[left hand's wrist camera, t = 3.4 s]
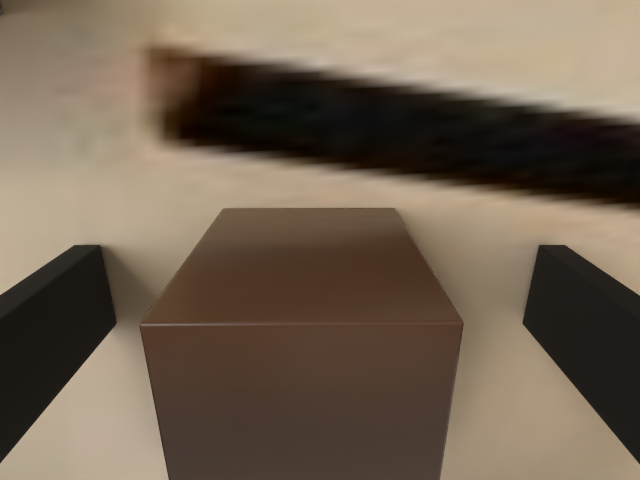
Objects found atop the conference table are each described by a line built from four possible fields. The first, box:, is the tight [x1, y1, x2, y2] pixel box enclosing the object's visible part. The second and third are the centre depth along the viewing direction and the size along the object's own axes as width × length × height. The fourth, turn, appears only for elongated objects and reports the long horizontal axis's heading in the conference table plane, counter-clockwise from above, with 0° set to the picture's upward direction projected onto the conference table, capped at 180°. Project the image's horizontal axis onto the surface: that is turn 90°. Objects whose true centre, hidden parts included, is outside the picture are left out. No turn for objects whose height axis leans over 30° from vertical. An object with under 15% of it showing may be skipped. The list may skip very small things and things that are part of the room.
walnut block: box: [140, 208, 463, 480], centre depth 10 cm, size 5×5×6 cm
